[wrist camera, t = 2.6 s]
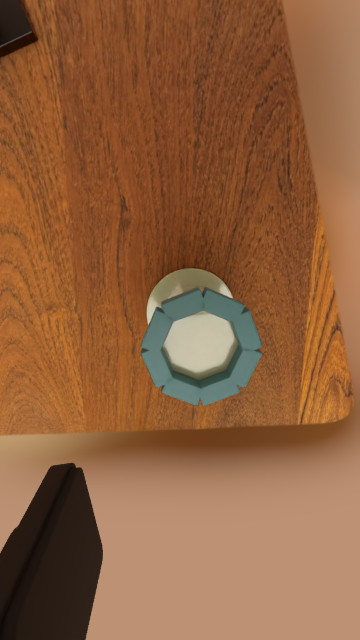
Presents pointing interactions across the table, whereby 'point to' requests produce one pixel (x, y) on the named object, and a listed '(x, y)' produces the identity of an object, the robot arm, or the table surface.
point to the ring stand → (195, 326)
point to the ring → (215, 384)
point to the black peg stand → (14, 27)
